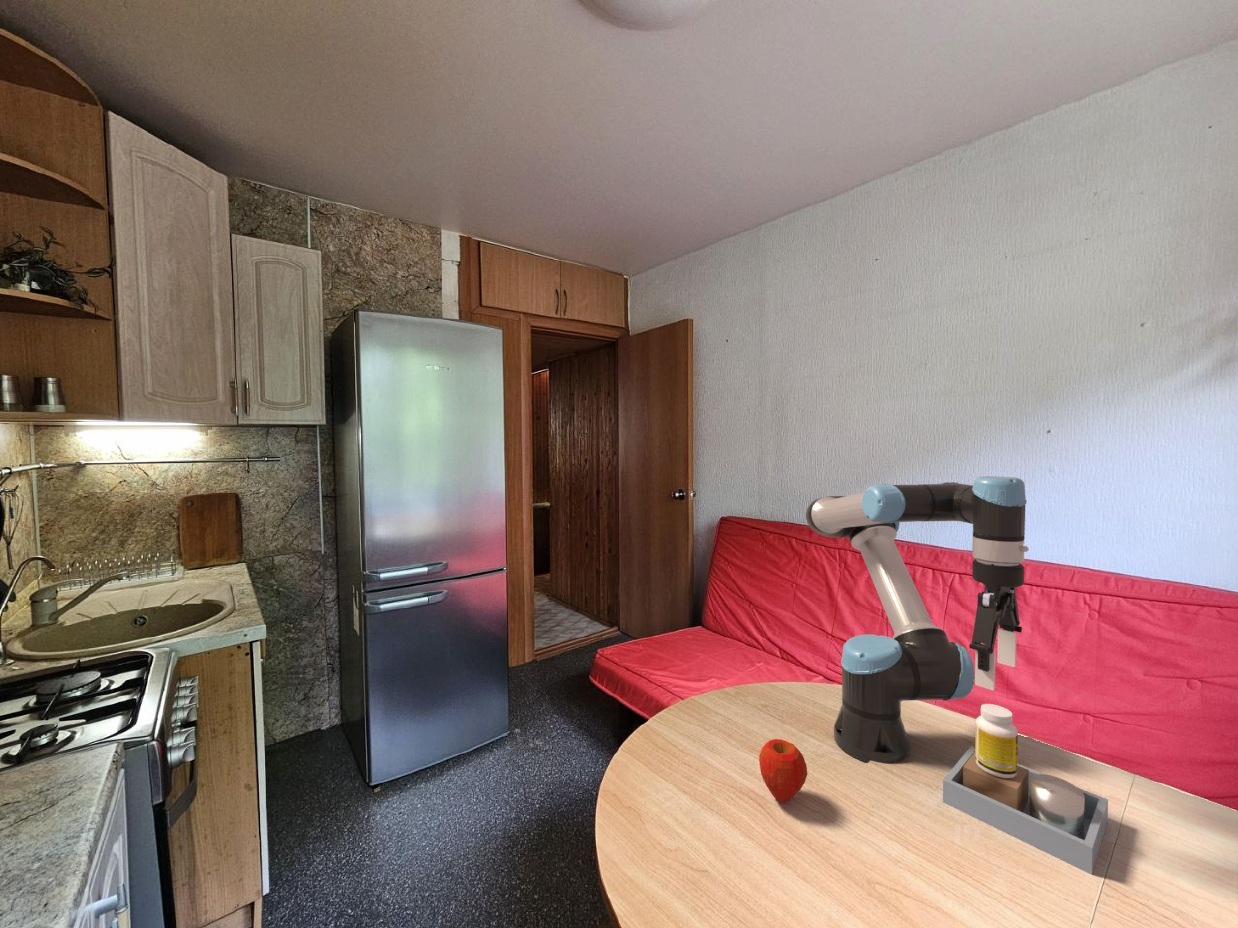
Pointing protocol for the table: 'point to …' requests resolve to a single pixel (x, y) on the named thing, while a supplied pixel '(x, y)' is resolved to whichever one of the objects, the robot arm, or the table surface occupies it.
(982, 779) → the walnut block
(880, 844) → the table surface
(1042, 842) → the crate
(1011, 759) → the pill bottle
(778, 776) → the apple
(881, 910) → the table surface
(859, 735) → the robot arm
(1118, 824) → the table surface
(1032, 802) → the metal tin
